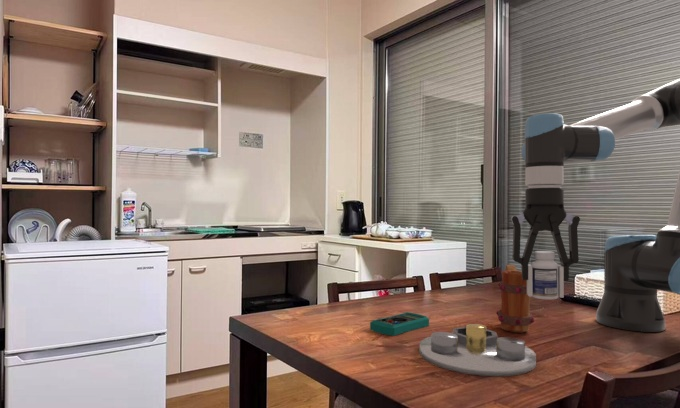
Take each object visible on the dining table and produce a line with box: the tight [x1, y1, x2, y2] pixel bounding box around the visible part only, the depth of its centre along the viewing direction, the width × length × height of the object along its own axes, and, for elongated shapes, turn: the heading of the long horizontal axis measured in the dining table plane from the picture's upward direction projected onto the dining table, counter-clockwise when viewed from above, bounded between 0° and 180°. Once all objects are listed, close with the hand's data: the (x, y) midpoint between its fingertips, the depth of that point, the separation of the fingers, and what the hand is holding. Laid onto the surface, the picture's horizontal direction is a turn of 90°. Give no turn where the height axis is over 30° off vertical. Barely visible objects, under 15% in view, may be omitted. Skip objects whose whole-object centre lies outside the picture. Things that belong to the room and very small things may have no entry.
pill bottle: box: [530, 250, 560, 300], centre depth 100 cm, size 5×5×10 cm
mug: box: [495, 264, 535, 334], centre depth 115 cm, size 15×8×15 cm, turn 168°
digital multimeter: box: [369, 312, 430, 337], centre depth 113 cm, size 7×15×3 cm, turn 134°
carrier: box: [418, 323, 537, 377], centre depth 92 cm, size 22×22×6 cm
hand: (544, 295), depth 100 cm, fingers closed on pill bottle, 5 cm apart
